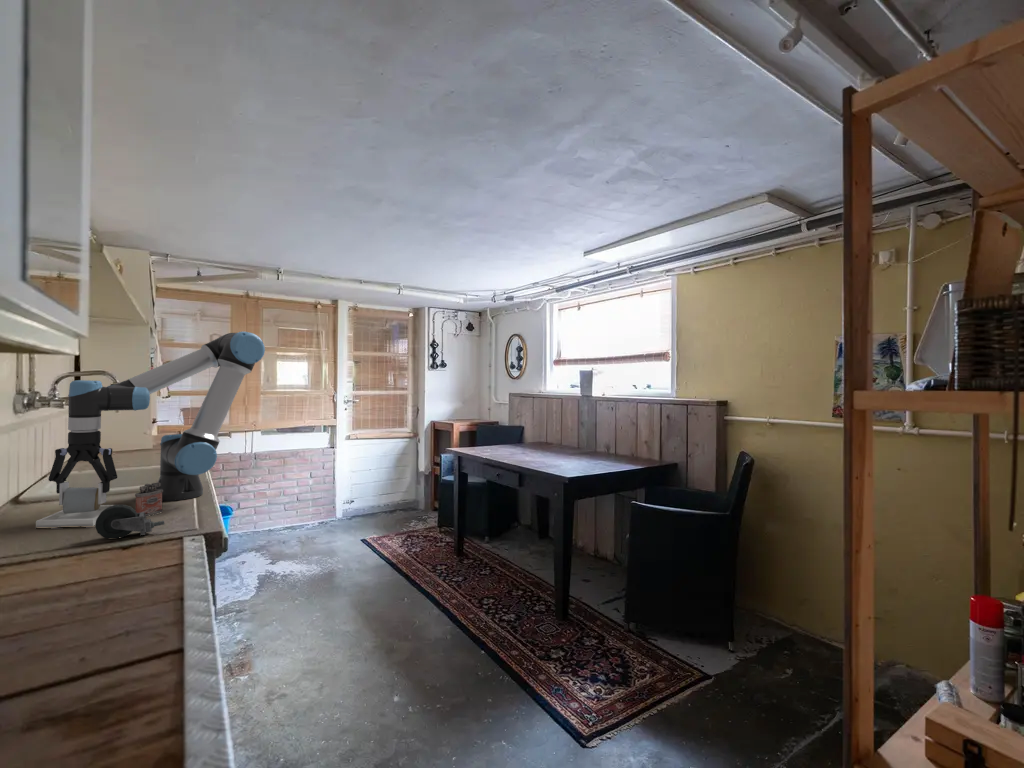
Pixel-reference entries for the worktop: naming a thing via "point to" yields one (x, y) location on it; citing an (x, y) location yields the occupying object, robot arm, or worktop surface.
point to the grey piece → (80, 500)
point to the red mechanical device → (149, 499)
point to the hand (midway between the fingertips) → (83, 503)
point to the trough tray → (71, 518)
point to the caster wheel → (123, 522)
